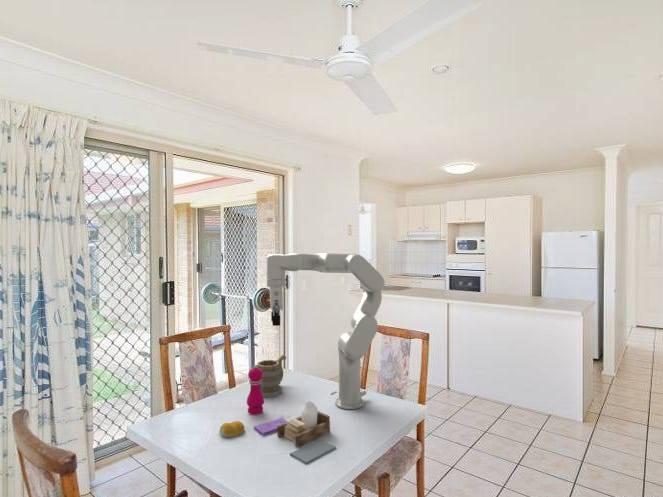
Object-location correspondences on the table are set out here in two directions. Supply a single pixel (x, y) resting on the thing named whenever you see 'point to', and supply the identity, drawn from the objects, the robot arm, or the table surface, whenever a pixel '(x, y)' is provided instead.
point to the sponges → (269, 426)
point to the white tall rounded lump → (309, 415)
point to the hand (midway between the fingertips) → (275, 323)
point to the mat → (313, 451)
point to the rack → (309, 430)
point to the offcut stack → (294, 429)
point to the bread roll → (232, 429)
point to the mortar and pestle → (271, 376)
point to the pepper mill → (255, 392)
